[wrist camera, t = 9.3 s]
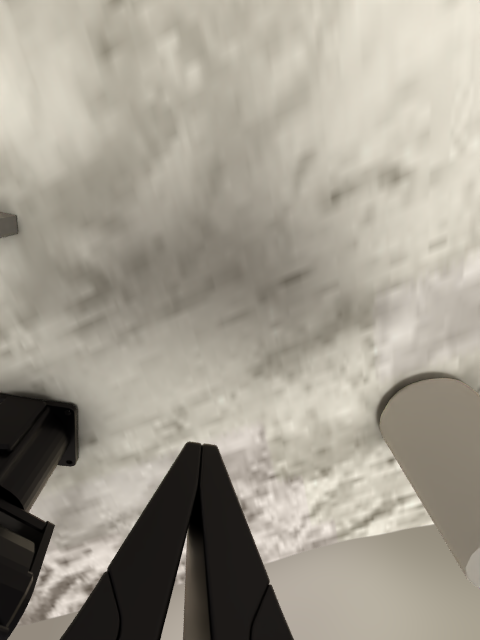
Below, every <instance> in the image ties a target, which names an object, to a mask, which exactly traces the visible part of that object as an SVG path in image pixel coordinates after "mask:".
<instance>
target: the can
mask: <svg viewBox="0 0 480 640" xmlns="http://www.w3.org/2000/svg"><path fill="white" fill-rule="evenodd" d="M379 427H380V430H381V434H382V437H383V438H384V440H385V442H386V443H387V445H388V447H389V448H390V450H391V452H392V453H393V455H394V457H395V458H396V460H397V462H398V463H399V465H400V467H401V468H402V470H403V472H404V474H405V475H406V477H407V479H408V480H409V482H410V484H411V485H412V487H413V489H414V490H415V492H416V494H417V495H418V497H419V499H420V500H421V502H422V504H423V505H424V507H425V509H426V510H427V512H428V514H429V515H430V517H431V519H432V521H433V522H434V524H435V526H436V527H437V529H438V531H439V532H440V534H441V536H442V537H443V539H444V541H445V542H446V544H447V546H448V547H449V549H450V551H451V552H452V554H453V556H454V557H455V559H456V561H457V562H458V564H459V566H460V568H461V569H462V571H463V572H464V574H465V576H466V578H467V579H468V580H469V581H470V582H471V583H472V584H473V585H475V586H476V587H477V588H479V589H480V395H479V394H478V393H477V392H475V391H474V390H473V389H472V388H471V387H470V386H468V385H466V384H464V383H463V382H461V381H459V380H455V379H449V378H436V379H428V380H421V381H418V382H415V383H412V384H409V385H407V386H406V387H404V388H402V389H401V390H399V391H398V392H397V393H396V394H395V395H394V396H393V397H392V398H391V399H390V400H389V402H388V404H387V406H386V407H385V409H384V411H383V413H382V414H381V419H380V425H379Z"/></svg>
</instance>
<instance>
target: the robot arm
mask: <svg viewBox="0 0 480 640" xmlns="http://www.w3.org/2000/svg"><path fill="white" fill-rule="evenodd" d="M77 460H78V432H77V408H76V407H75V406H74V405H72V404H66V403H59V402H52V401H45V400H38V399H31V398H25V397H18V396H11V395H4V394H0V640H7V639H8V637H9V636H10V635H11V633H12V631H13V630H14V628H15V627H16V625H17V624H18V622H19V620H20V618H21V617H22V615H23V613H24V611H25V609H26V607H27V605H28V603H29V601H30V598H31V596H32V593H33V591H34V588H35V585H36V582H37V578H38V575H39V572H40V569H41V566H42V563H43V560H44V557H45V554H46V551H47V548H48V545H49V542H50V539H51V536H52V533H53V529H54V526H55V525H54V524H52V523H50V522H49V521H47V522H45V521H43V520H41V519H40V518H38V517H36V516H34V515H32V514H30V513H29V510H30V509H31V507H32V506H33V504H34V502H35V501H36V499H37V497H38V496H39V494H40V492H41V491H42V489H43V487H44V486H45V484H46V483H47V481H48V479H49V478H50V476H51V474H52V473H53V471H54V469H55V468H56V466H57V465H62V466H74V465H75V464H76V462H77ZM187 531H188V533H187ZM186 535H187V552H186V578H185V605H184V632H183V640H294V639H293V637H292V634H291V632H290V629H289V627H288V625H287V622H286V620H285V617H284V615H283V613H282V610H281V608H280V606H279V603H278V600H277V598H276V595H275V592H274V590H273V587H272V585H269V582H270V581H269V578H268V575H267V572H266V570H265V567H264V565H263V562H262V560H261V557H260V554H259V552H258V549H257V547H256V544H255V542H254V539H253V536H252V534H251V531H250V529H249V526H248V524H247V521H246V519H245V516H244V513H243V511H242V508H241V506H240V503H239V501H238V498H237V495H236V493H235V490H234V488H233V485H232V483H231V480H230V478H229V475H228V472H227V470H226V467H225V465H224V462H223V460H222V457H221V454H220V452H219V449H218V447H217V446H216V445H211V444H203V445H201V443H197V442H187V443H186V444H185V446H184V447H183V449H182V451H181V452H180V454H179V455H178V457H177V459H176V460H175V462H174V463H173V465H172V466H171V468H170V470H169V471H168V473H167V474H166V476H165V478H164V479H163V481H162V482H161V484H160V485H159V487H158V489H157V490H156V492H155V493H154V495H153V497H152V498H151V500H150V501H149V503H148V505H147V506H146V508H145V509H144V511H143V512H142V514H141V516H140V517H139V519H138V520H137V522H136V524H135V525H134V527H133V528H132V530H131V532H130V533H129V535H128V536H127V538H126V539H125V541H124V543H123V544H122V546H121V547H120V549H119V551H118V552H117V554H116V555H115V557H114V559H113V560H112V562H111V563H110V565H109V566H108V569H107V571H106V572H105V573H104V574H103V576H102V577H101V579H100V580H99V582H98V583H97V585H96V587H95V588H94V590H93V591H92V593H91V594H90V596H89V597H88V599H87V600H86V602H85V603H84V605H83V607H82V608H81V610H80V611H79V613H78V614H77V616H76V617H75V619H74V620H73V622H72V623H71V625H70V626H69V627H68V629H67V630H66V632H65V633H64V634H63V636H62V637H61V639H60V640H160V638H161V634H162V630H163V626H164V622H165V618H166V614H167V611H168V607H169V603H170V598H171V594H172V590H173V587H174V583H175V579H176V575H177V571H178V567H179V563H180V559H181V555H182V551H183V547H184V543H185V539H186Z"/></svg>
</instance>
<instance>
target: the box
mask: <svg viewBox="0 0 480 640" xmlns="http://www.w3.org/2000/svg"><path fill="white" fill-rule="evenodd" d="M13 234H18V230H17V219H16V215H11V214H6V213H2V212H0V238H1V237H5V236H9V235H13Z"/></svg>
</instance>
